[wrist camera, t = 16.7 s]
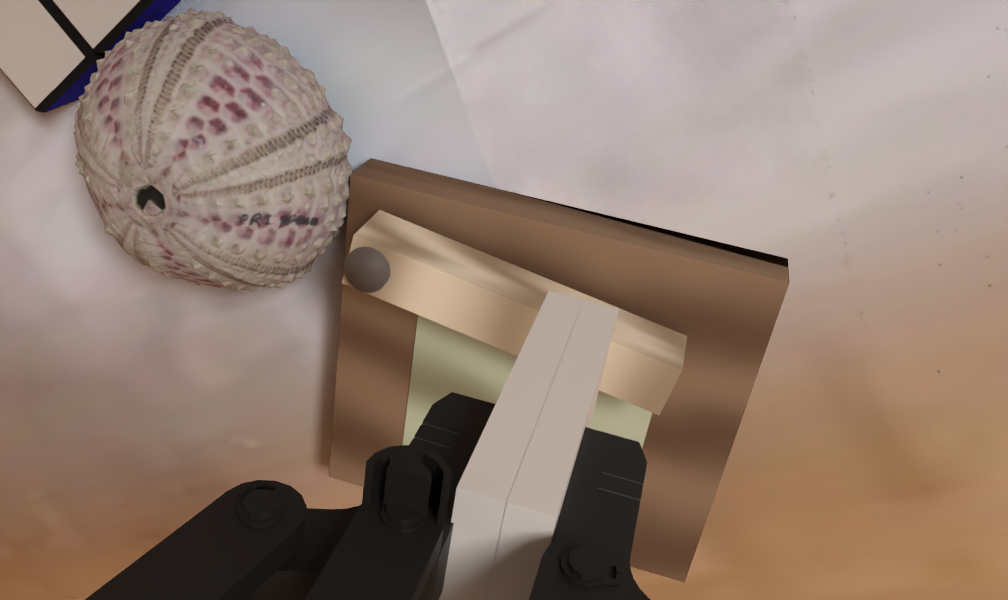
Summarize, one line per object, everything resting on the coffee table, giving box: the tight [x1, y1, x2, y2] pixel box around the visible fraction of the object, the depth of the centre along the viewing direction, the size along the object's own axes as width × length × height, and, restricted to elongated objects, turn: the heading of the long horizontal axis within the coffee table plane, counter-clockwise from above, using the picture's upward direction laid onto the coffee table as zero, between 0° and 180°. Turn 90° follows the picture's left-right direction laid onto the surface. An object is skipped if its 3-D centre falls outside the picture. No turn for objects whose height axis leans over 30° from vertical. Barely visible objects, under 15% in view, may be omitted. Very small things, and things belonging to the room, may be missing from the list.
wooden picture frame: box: [329, 159, 789, 582], centre depth 45 cm, size 18×20×3 cm
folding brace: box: [342, 210, 687, 415], centre depth 39 cm, size 15×2×3 cm, turn 72°
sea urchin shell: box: [74, 8, 352, 292], centre depth 41 cm, size 13×14×8 cm
